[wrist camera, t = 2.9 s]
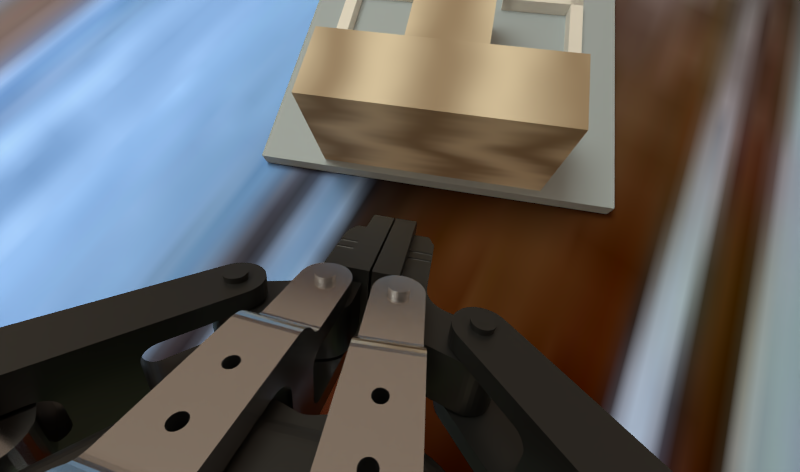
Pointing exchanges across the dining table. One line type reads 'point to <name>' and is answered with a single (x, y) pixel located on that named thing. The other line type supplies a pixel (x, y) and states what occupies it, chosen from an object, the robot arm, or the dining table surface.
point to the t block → (444, 98)
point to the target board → (513, 26)
